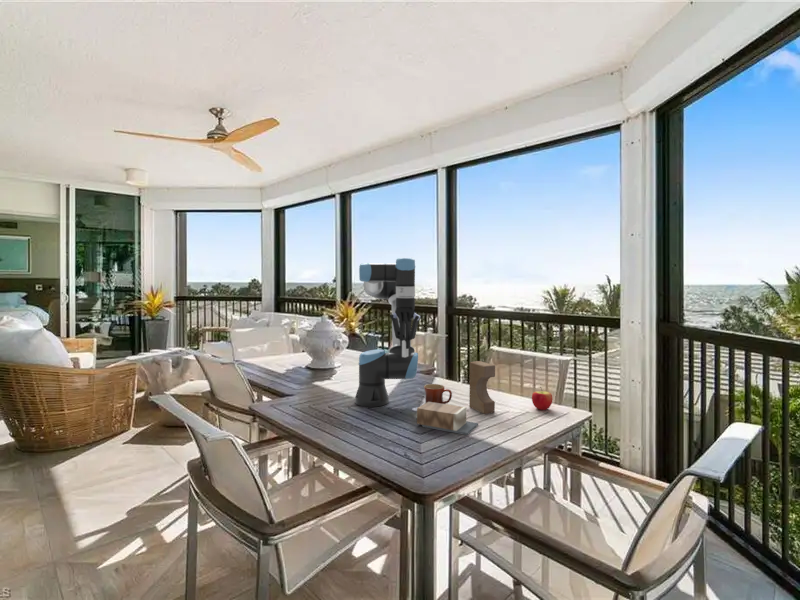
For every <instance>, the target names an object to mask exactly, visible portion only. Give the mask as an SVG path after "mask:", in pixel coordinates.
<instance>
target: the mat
mask: <svg viewBox="0 0 800 600" xmlns="http://www.w3.org/2000/svg"><path fill="white" fill-rule="evenodd" d="M421 426H422V427H423V428H427V429H431V430H432V429H433V430H439V431H443V432H449V433H453V434H459V435H466V436H468V435H469V434H471V432H473V431H474V429H476V428H477V427H478V426H479V423H478V422H474V421H468V420H466V424H464V425H463V426H462V427H461V428H460V429H458V430H457V431H454V430H449V429H444V428H438V427H433V426H427V425H422V424H421Z"/></svg>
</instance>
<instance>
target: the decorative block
mask: <svg viewBox="0 0 800 600" xmlns="http://www.w3.org/2000/svg"><path fill="white" fill-rule="evenodd" d="M494 377H496V365H495V364H492V363H489V362H488V363H487V362H485V361H481V360H476V361H470V362H469V399H468V400H469V403H468V404H469V408H470V409H472V410H474V411H476V412H479V413H481V414H483V415H488V414H495V412H496V411H495V407H496V405H495V403H496V401H495V400H493V399H492V398H491V397H490V394H489V392H488V387H487V386H488V385H487V384H488V381H489V379H491V378H494Z"/></svg>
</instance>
